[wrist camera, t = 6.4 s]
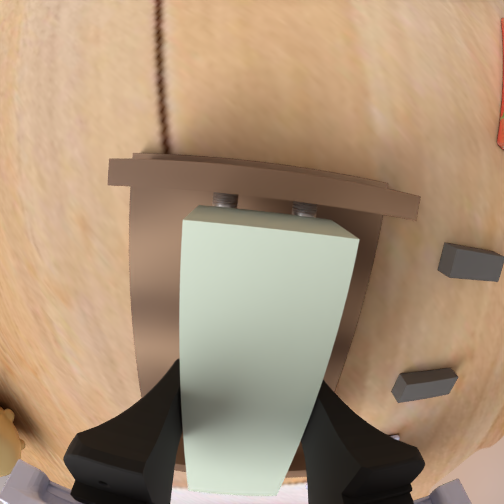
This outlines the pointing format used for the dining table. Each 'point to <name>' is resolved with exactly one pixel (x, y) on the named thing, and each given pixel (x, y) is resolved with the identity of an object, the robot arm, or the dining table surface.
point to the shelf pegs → (232, 202)
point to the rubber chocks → (454, 266)
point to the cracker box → (503, 132)
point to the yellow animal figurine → (9, 442)
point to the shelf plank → (255, 339)
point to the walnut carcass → (250, 197)
